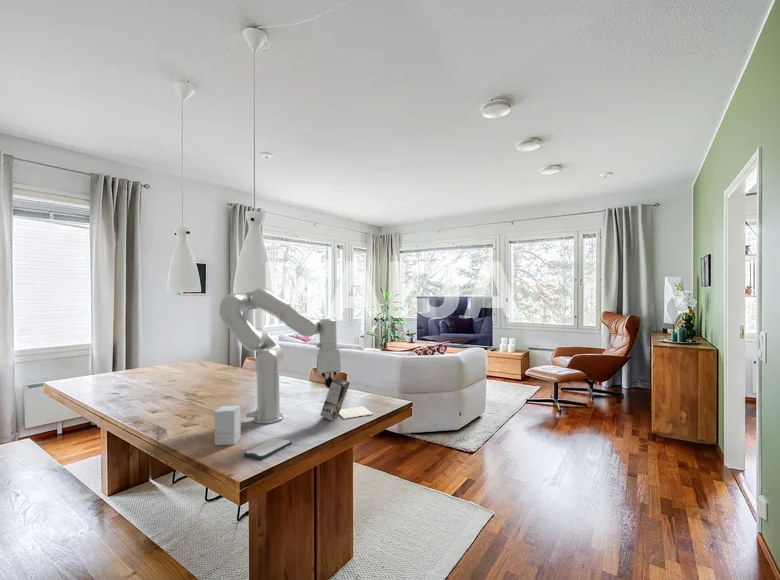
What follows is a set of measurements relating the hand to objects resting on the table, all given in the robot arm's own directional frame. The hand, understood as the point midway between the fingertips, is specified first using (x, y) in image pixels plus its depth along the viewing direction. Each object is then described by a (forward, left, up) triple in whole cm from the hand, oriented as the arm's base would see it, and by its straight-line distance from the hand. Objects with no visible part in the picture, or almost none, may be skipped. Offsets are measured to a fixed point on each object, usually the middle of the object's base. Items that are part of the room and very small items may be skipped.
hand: (328, 387), depth 170 cm
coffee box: (0, 0, -13) cm, 13 cm away
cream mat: (+12, +1, -14) cm, 18 cm away
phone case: (-29, -25, -14) cm, 41 cm away
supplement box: (-42, -10, -14) cm, 45 cm away
